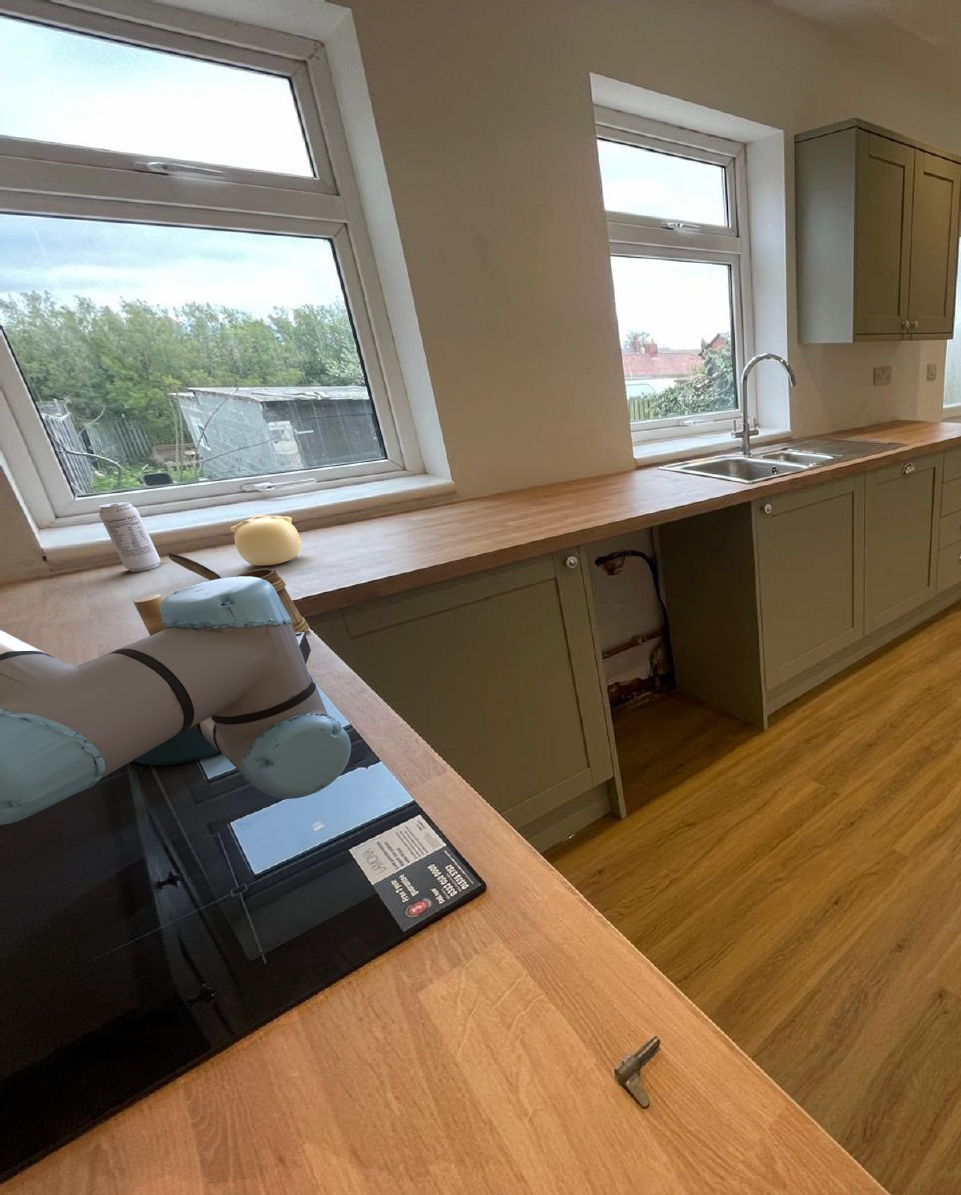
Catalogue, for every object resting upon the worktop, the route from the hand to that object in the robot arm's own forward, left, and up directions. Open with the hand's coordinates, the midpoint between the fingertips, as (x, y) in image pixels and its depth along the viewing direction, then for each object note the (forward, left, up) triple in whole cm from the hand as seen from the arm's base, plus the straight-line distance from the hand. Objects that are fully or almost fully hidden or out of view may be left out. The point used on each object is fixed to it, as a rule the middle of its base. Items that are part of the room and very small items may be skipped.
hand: (183, 659), depth 76 cm
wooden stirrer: (-2, +4, -11) cm, 12 cm away
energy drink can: (-23, +102, -12) cm, 105 cm away
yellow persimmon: (+2, +85, -12) cm, 86 cm away
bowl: (-2, +4, -12) cm, 13 cm away
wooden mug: (+3, +33, -12) cm, 36 cm away
